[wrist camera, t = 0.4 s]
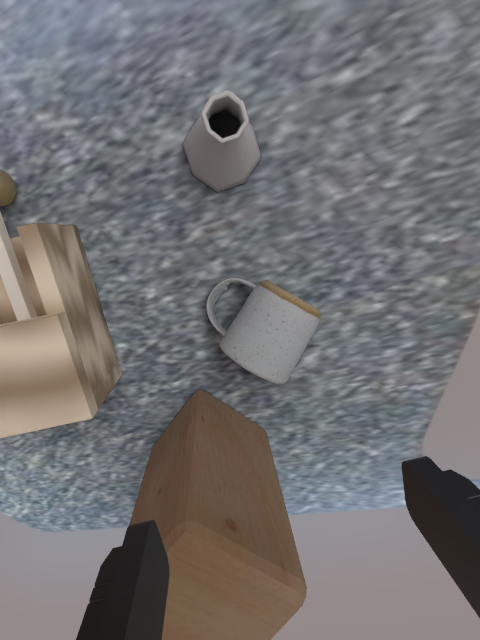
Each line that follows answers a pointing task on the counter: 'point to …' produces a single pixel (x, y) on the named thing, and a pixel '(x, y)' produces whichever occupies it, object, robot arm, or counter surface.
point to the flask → (222, 143)
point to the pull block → (12, 259)
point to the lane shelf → (53, 336)
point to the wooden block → (221, 526)
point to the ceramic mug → (266, 329)
